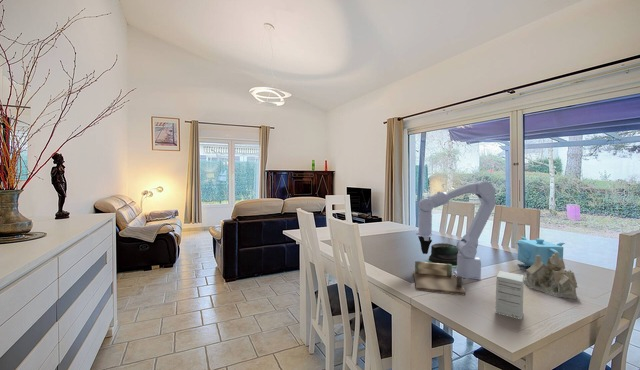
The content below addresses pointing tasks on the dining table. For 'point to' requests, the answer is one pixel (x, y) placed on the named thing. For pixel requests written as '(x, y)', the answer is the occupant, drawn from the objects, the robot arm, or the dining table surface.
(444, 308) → the dining table surface
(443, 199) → the robot arm
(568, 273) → the ceramic cottage
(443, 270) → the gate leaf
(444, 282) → the board
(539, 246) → the teakettle
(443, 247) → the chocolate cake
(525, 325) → the dining table surface
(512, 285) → the supplement box
